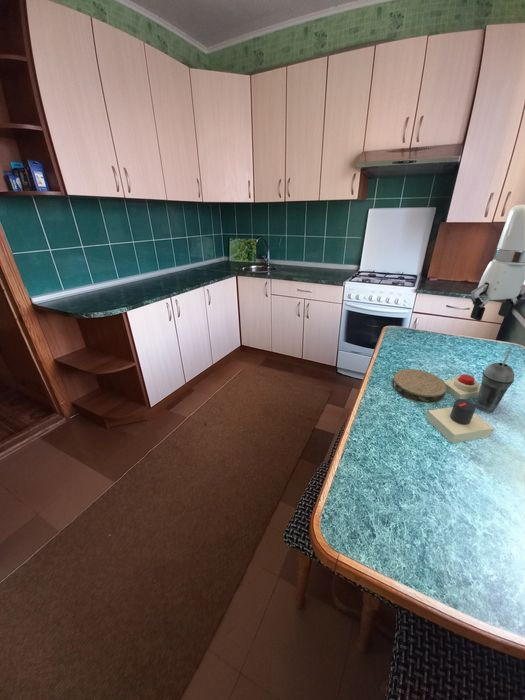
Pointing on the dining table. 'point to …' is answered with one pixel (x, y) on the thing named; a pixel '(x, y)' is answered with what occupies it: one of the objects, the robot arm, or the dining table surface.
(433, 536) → the dining table surface
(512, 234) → the robot arm
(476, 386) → the block
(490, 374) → the beverage cup
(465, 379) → the power button
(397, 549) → the dining table surface
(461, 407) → the timer dial
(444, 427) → the panel
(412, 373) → the brown cork coaster
